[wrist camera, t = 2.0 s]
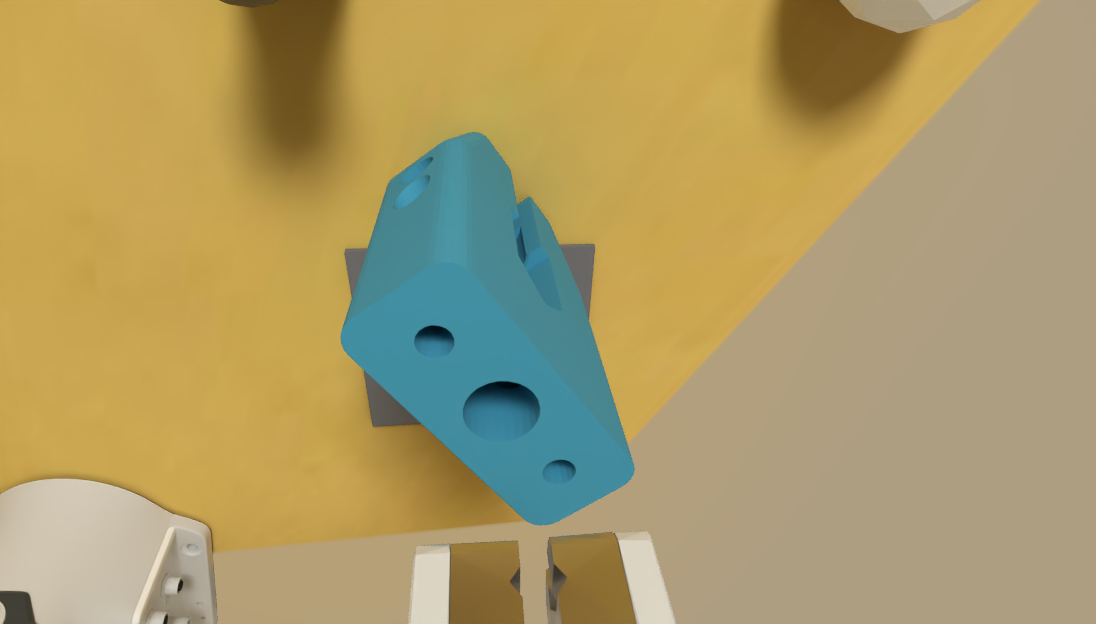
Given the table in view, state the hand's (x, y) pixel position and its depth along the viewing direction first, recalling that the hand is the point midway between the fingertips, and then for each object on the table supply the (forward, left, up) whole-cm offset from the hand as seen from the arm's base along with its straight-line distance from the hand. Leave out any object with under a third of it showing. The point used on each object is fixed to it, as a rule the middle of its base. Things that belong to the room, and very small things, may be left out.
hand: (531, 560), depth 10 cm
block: (-8, 0, -31) cm, 32 cm away
